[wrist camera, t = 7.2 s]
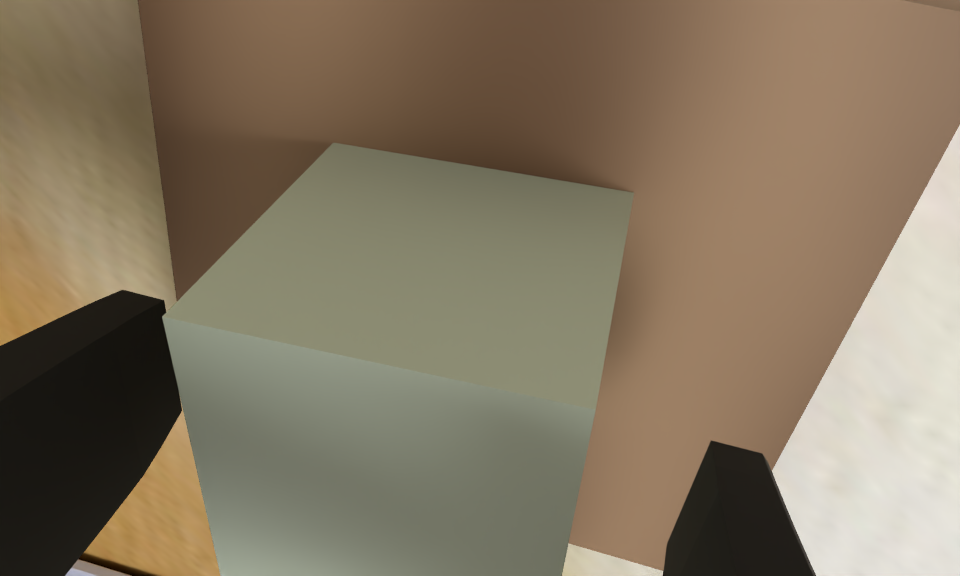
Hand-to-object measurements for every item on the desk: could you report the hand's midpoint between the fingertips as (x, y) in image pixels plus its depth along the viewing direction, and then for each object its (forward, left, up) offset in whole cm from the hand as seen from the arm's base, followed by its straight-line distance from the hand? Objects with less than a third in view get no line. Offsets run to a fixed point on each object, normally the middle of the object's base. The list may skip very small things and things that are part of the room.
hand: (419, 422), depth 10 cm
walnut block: (0, 0, -6) cm, 6 cm away
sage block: (0, 0, -3) cm, 3 cm away
